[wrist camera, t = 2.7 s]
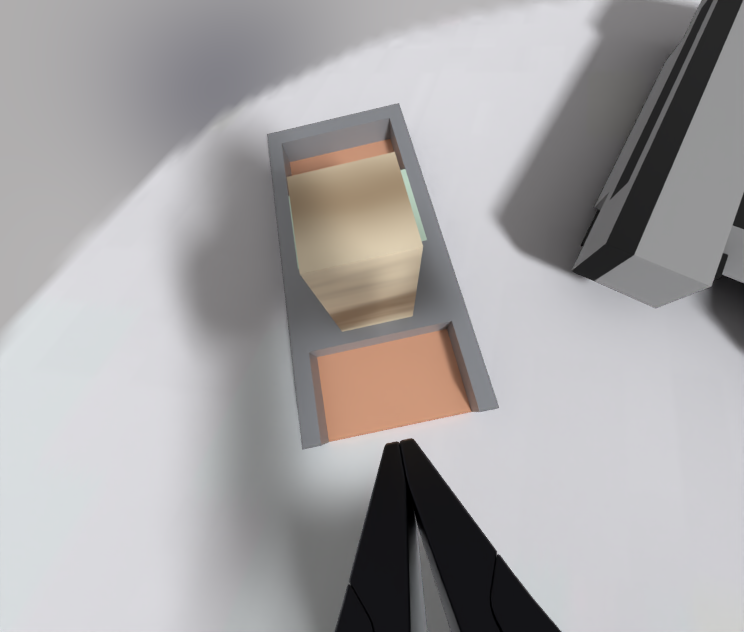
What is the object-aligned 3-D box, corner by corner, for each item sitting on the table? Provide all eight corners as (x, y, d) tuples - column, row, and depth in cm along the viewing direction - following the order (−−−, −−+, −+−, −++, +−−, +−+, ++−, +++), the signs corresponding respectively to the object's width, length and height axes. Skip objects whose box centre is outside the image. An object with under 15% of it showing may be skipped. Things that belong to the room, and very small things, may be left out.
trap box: (487, 407, 20) (499, 407, 18) (313, 444, 20) (302, 449, 18) (398, 128, 28) (398, 103, 26) (278, 156, 29) (267, 134, 26)
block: (412, 316, 20) (423, 246, 11) (342, 331, 20) (299, 274, 11) (396, 254, 21) (394, 151, 13) (331, 268, 22) (286, 176, 13)
